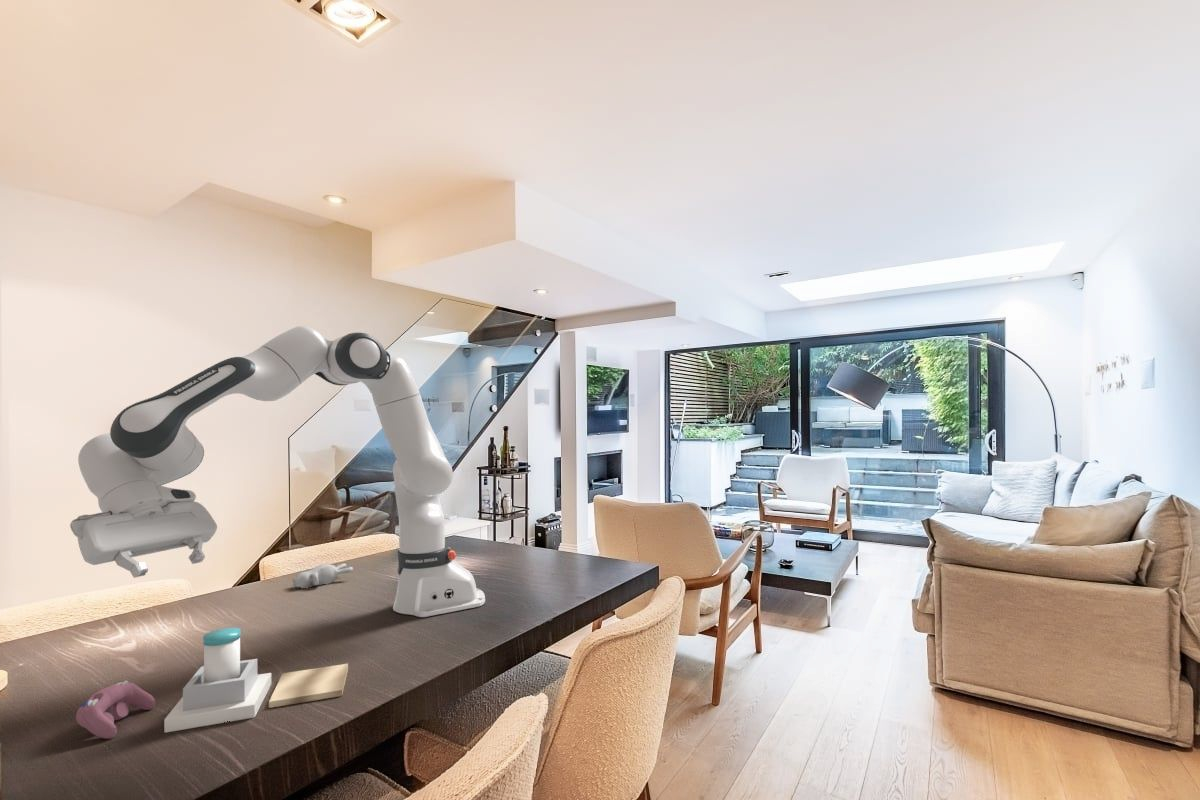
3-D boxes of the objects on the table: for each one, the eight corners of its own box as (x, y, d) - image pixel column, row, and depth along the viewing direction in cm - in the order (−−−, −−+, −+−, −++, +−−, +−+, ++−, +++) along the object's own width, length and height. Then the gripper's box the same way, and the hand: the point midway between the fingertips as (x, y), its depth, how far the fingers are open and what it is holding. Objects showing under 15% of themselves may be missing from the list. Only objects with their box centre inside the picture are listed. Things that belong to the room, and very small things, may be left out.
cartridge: (244, 684, 97) (244, 625, 97) (235, 698, 92) (235, 636, 92) (209, 689, 95) (209, 630, 95) (198, 704, 90) (198, 641, 90)
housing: (271, 683, 101) (271, 653, 101) (254, 717, 90) (254, 682, 90) (192, 696, 97) (192, 663, 97) (164, 732, 86) (164, 696, 86)
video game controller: (134, 717, 93) (114, 680, 93) (160, 703, 94) (140, 666, 94) (85, 753, 83) (62, 712, 83) (115, 737, 84) (92, 696, 84)
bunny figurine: (288, 572, 161) (342, 556, 172) (291, 589, 162) (344, 572, 172) (298, 578, 154) (354, 561, 165) (301, 596, 155) (356, 578, 165)
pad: (348, 668, 106) (348, 663, 106) (342, 695, 96) (342, 689, 96) (282, 678, 103) (282, 673, 103) (268, 707, 92) (268, 701, 92)
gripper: (74, 505, 92) (110, 570, 88) (201, 489, 111) (236, 543, 107) (57, 530, 93) (92, 596, 89) (186, 511, 112) (219, 565, 108)
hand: (171, 567), depth 98 cm, fingers open, 8 cm apart
